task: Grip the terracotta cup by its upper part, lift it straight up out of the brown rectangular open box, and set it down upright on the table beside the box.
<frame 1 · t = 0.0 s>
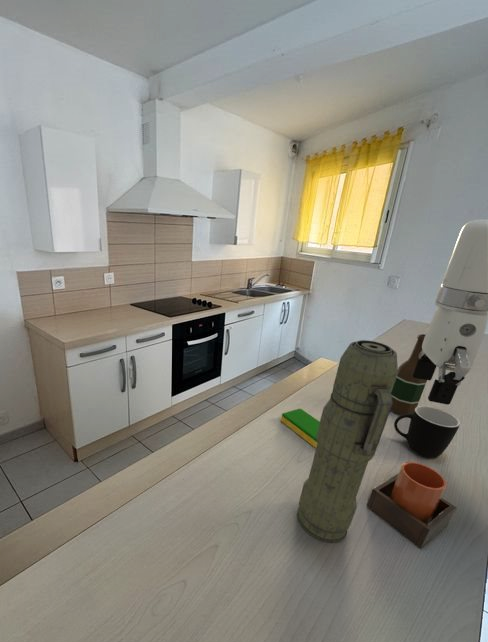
hand: (429, 389, 60), 23 cm above the worktop, tool pointing down, fingers open, 9 cm apart
dish sponge: (308, 432, 85), on the worktop
mug: (415, 448, 82), on the worktop
brown rectangular open box: (405, 515, 62), on the worktop
cup: (414, 495, 60), in the brown rectangular open box
thermos: (320, 521, 60), on the worktop
beer bottle: (399, 410, 98), on the worktop
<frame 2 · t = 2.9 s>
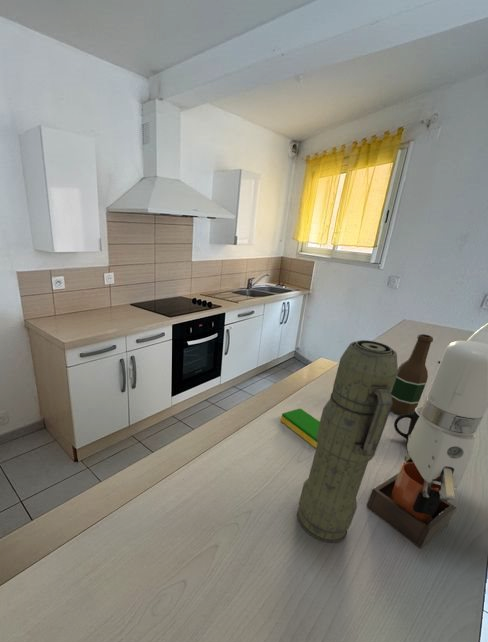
hand: (414, 495, 60), 5 cm above the worktop, tool pointing down, fingers closed on cup, 6 cm apart
cup: (414, 495, 60), in the brown rectangular open box, touching gripper
everything else where it was.
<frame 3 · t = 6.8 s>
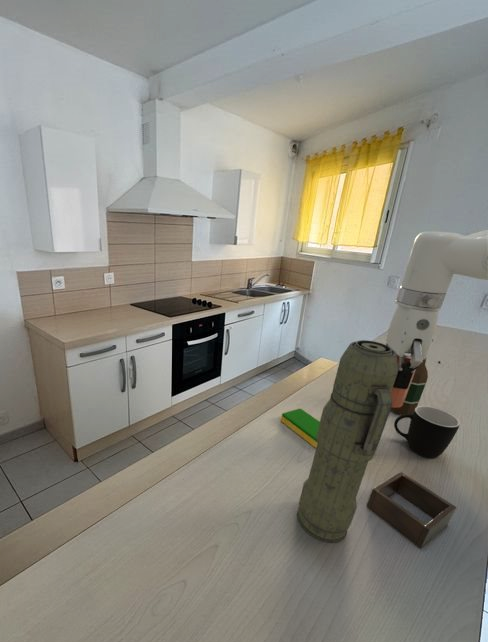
hand: (392, 378, 70), 21 cm above the worktop, tool pointing down, fingers closed on cup, 6 cm apart
cup: (391, 379, 70), point 20 cm above the worktop, touching gripper
everything else where it was.
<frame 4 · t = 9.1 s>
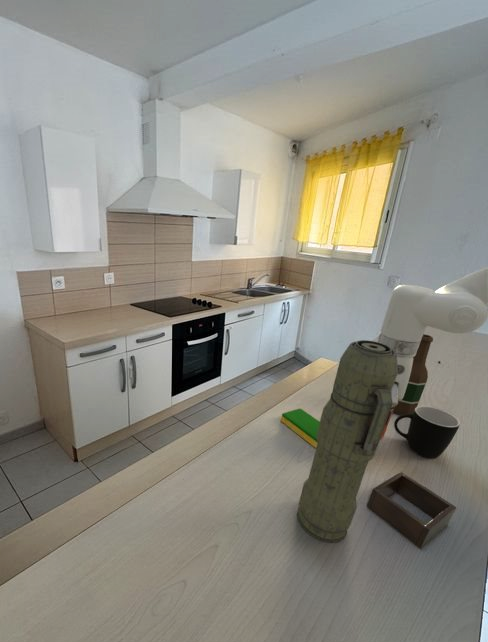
hand: (373, 413, 76), 10 cm above the worktop, tool pointing down, fingers closed on cup, 6 cm apart
cup: (373, 414, 76), point 10 cm above the worktop, touching gripper
everything else where it was.
when the fingers open (5 cm above the worktop, at t = 10.9 s): cup stays where it is, on the worktop.
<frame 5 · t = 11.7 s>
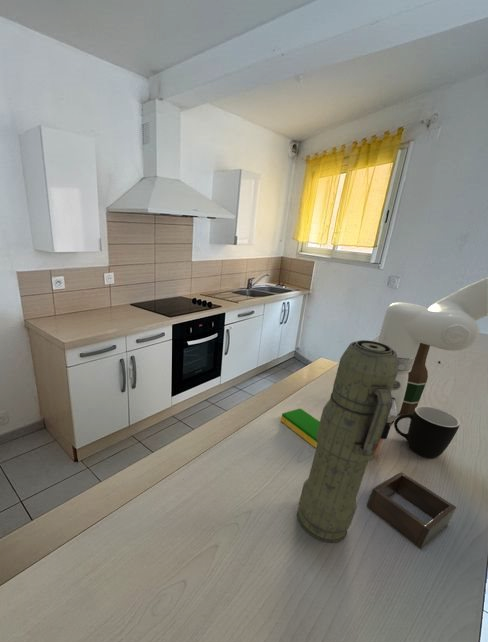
hand: (372, 425, 77), 7 cm above the worktop, tool pointing down, fingers open, 9 cm apart
cup: (367, 431, 78), on the worktop
everything else where it was.
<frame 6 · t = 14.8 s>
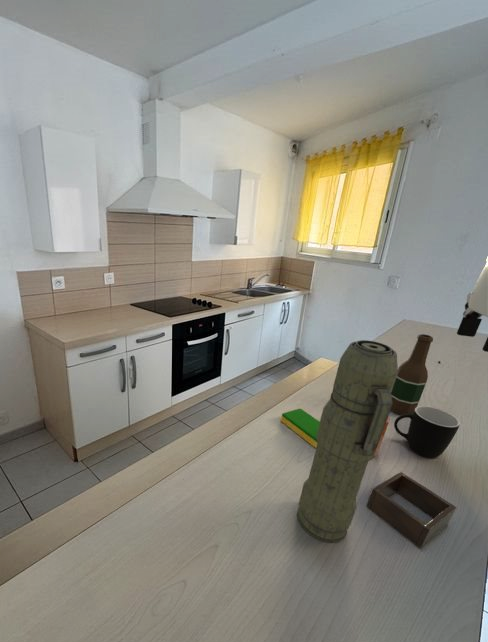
hand: (477, 343, 65), 30 cm above the worktop, tool pointing down, fingers open, 9 cm apart
nothing on the worktop moved.
at the end: cup inside the target area (0.1 cm from its centre), on the worktop; cup tilted 0°; the gripper is holding nothing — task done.
